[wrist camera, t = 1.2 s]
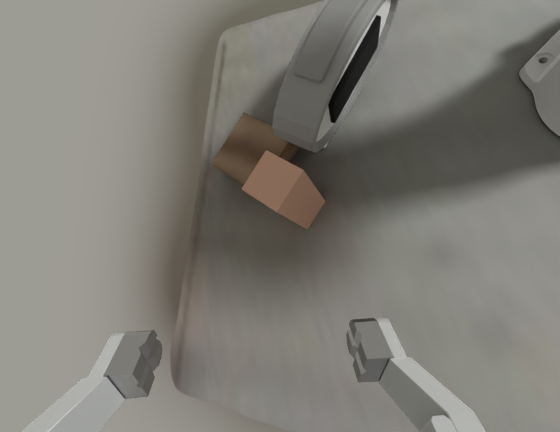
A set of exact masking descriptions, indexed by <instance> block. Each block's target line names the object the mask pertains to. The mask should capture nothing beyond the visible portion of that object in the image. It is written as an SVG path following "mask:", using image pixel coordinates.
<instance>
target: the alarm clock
mask: <svg viewBox="0 0 560 432" xmlns="http://www.w3.org/2000/svg"><path fill="white" fill-rule="evenodd" d="M398 1H399V0H324V1H323V3H322V4H321V6H320V7H319V9H318V10H317V12H316V14H315V15H314V17H313V18H312V20H311V22H310V23H309V25H308V27H307V29H306V31H305V33H304V35H303V37H302V39H301V41H300V42H299V44H298V46H297V48H296V50H295V53H294V55H293V57H292V60H291V62H290V64H289V67H288V69H287V71H286V74H285V77H284V79H283V82H282V85H281V88H280V91H279V94H278V97H277V101H276V105H275V109H274V113H273V124H272V129H273V133H274V135H275V136H276V137H278V138H281V139H283V140H285V141H288V142H290V143H292V144H295V145H297V146H299V147H302V148H304V149H306V150H309V151H311V152H313V153H317V152H318V151H320V150H321V149H322V148H324V149H325V148H326V146H327V144H328V142H329V140H330V139H331V138H332V136H333V135H334V134H335V132H336V131H337V130H338V128H339V126H340V125H341V123H342V122H343V120H344V119H345V117H346V116H347V114H348V112H349V110H350V109H351V107H352V105H353V104H354V102H355V100H356V98H357V97H358V95H359V93H360V91H361V89H362V87H363V85H364V83H365V82H366V80H367V78H368V76H369V74H370V72H371V70H372V67H373V65H374V63H375V61H376V59H377V57H378V55H379V52H380V50H381V48H382V46H383V44H384V41H385V39H386V36H387V34H388V31H389V29H390V26H391V24H392V21H393V18H394V15H395V12H396V9H397V5H398Z"/></svg>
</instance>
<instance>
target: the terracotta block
mask: <svg viewBox="0 0 560 432" xmlns="http://www.w3.org/2000/svg"><path fill="white" fill-rule="evenodd" d="M242 190H243V191H245V192H246V193H248V194H249V195H251V196H253V197H254V198H256V199H257V200H259V201H260V202H262V203H263V204H265V205H266V206H268V207H269V208H271V209H272V210H274V211H275V212H277V213H279V214H281V215H282V216H284V217H286V218H288V219H289V220H291V221H293V222H295V223H296V224H298V225H300V226H302V227H303V228H305V229H307V230H308V228H309V227H310V225H311V223H312V222H313V220H314V219H315V217H316V216H317V214H318V213H319V211H320V209H321V208H322V206H323V205H324V203H325V200H324V199H323V197H322V196H321V194H320V193H319V191H318V190H317V189H316V187H315V186H314V184H313V183H312V181H311V180H310V178H309V177H308V176H307V174H306V173H305V171H304V170H303V169H301V168H299V167H297V166H295V165H293V164H291V163H290V162H288V161H286V160H284V159H282V158H280V157H278V156H276V155H275V154H273V153H271V152H269V151H267V150H266V151H265V153H264V154H263V156H262V157H261V159H260V161H259V162H258V164H257V165H256V167H255V168H254V170H253V172H252V173H251V175H250V176H249V178H248V180H247V181H246V183H245V184H244V186H243V187H242Z"/></svg>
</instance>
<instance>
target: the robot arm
mask: <svg viewBox="0 0 560 432" xmlns="http://www.w3.org/2000/svg"><path fill="white" fill-rule="evenodd" d="M539 62H543V63H539ZM519 76H520V78H521V80H522V81H523V82H524V83H525V84H526V85H527V87H528V88H529V89H530V90H531V91H532V93H533V96H534V100H535V105H536V109H537V111H538V114H539V115H540V117H541V119H542V120H543V122H544V123H545V124H546V125H547V126H548V127H549V128H550V129H551V130H552V131H553V132H554V133H556V134H557V135H559V136H560V29H559V30H558V31H557V32H556V33H555V34H554V35H553V36H552V37H551V39H550V40H549V41H548V42H547V43H546V44H545V45H544V46H543V47H542V48H541V49H540V50H539V51H538V52H537V53H536V54H535V55H534V56H533V57H532V58H531V59H530V60H529V61H528V62H527V63H526V64H525V65H524V66H523V67H522V68H521V70H520V72H519ZM349 326H350V329H349V330H348V331H347V346H348V350H349V353H350V354H351V355H352V357H353V358H354V359H355V360H354V363H353V367H354V370H355V373H356V377H357V380H358V382H379V384H380V385H381V386H382V387H383V388H384V390H385V391H386V392H387V393H388V394H389V396H390V397H391V398H392V399H393V400H394V402H395V403H396V404H397V405H398V406H399V407H400V409H401V410H402V411H403V412H404V413H405V415H406V416H407V417H408V418H409V419H410V421H411V422H412V423H413V424H414V425H415V426H416V428H417V429H418V430H419V432H485V430H484V428H483V426H482V425H481V423H480V421H479V420H478V418H477V416H476V415H475V413H474V412H473V411H472V410H471V409H470V408H469V407H468V406H466V405H465V404H464V403H463V402H462V401H461V400H459V399H458V398H457V397H456V396H455V395H454V394H453V393H451V392H450V391H449V390H448V389H447V388H446V387H444V386H443V385H442V384H441V383H440V382H439V381H438V380H436V379H435V378H434V377H433V376H432V375H431V374H429V373H428V372H427V371H426V370H425V369H424V368H423V367H421V366H420V365H419V364H418V363H417V362H416V361H415V360H413V359H412V358H411V357H407V356H406V354H405V352H404V350H403V348H402V346H401V344H400V342H399V340H398V338H397V336H396V334H395V332H394V329H393V327H392V325H391V323H390V321H389V320H388V319H387V318H366V319H353V320H350V323H349ZM156 336H157V334H156V332H155V331H154V330H153V331H136V332H115V333H113V334H112V335H111V336H110V338H109V339H108V341H107V343H106V345H105V346H104V348H103V350H102V352H101V354H100V355H99V357H98V359H97V361H96V363H95V364H94V366H93V368H92V370H91V372H90V374H89V375H88V377H86V378H83V379H81V380H80V381H79V382H78V383H77V384H75V385H74V386H73V387H72V388H71V389H70V390H69V391H68V392H66V393H65V394H64V395H63V396H62V397H61V398H59V400H57V401H56V402H55V403H54V404H52V405H51V406H50V407H49V408H48V409H47V410H46V411H44V412H43V413H42V414H41V415H40V416H39V417H38V418H37V419H35V420H34V421H33V422H32V423H31V424H30V425H28V426H27V427H26V428H25V429H24V430H23V431H21V432H99V431H100V430H101V429H102V428H103V426H104V425H105V424H106V423H107V422H108V420H109V419H110V418H111V417H112V416H113V414H114V413H115V412H116V411H117V410H118V408H119V407H120V406H121V405H122V404H123V402H124V401H125V399H127V398H137V397H147V396H148V395H149V392H150V389H151V386H152V383H153V380H154V374H153V371H154V370H155V368H156V367H157V366H158V365H159V363H160V360H161V355H162V345H161V342H160V341H159V340H157V339H156Z"/></svg>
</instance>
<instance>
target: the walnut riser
mask: <svg viewBox="0 0 560 432" xmlns="http://www.w3.org/2000/svg"><path fill="white" fill-rule="evenodd" d="M299 148H300V147H299V146H297V145H295V144H292V143H290V142H288V141H285V140H283V139H281V138H278V137H276V136H275V135H274V133H273V129H272V125H269V124H267V123H265V122H263V121H261V120H259V119H257V118H255V117H253V116H250V115H248V114H246V113H243V115H242V116H241V118H240V120H239V121H238V123H237V124H236V126H235V128H234V129H233V131H232V132H231V134H230V136H229V137H228V139H227V140H226V142H225V144H224V145H223V147H222V148H221V150H220V152H219V153H218V155H217V156H216V158H215V160H214V161H213V163H212V164H211V165H213V166H215V167H216V168H218V169H219V170H221V171H222V172H224V173H226V174H227V175H229V176H230V177H232V178H233V179H235V180H236V181H238V182H240V183H241V184H243V185H244V184H245V183H246V181H247V180H248V178H249V176H250V175H251V173H252V172H253V170H254V168H255V167H256V165H257V164H258V162H259V161H260V159H261V157H262V156H263V154H264V153H265V151H266V150H267V151H269V152H271V153H273V154H275V155H276V156H278V157H280V158H282V159H284V160H286V161H288V162H291V161H292V159H293V157H294V156H295V154H296V153H297V151H298V150H299Z"/></svg>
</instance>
